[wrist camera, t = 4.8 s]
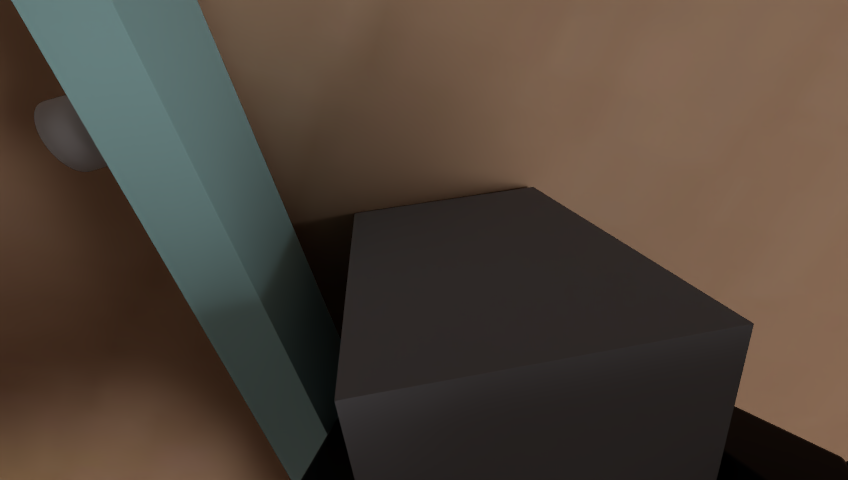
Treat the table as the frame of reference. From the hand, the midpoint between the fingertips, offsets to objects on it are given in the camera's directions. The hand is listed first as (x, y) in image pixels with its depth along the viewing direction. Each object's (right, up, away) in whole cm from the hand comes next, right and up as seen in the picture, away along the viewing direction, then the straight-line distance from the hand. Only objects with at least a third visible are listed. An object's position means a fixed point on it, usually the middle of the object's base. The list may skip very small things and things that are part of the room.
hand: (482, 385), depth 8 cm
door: (-4, 0, +2) cm, 4 cm away
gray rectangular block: (0, +1, +2) cm, 2 cm away
